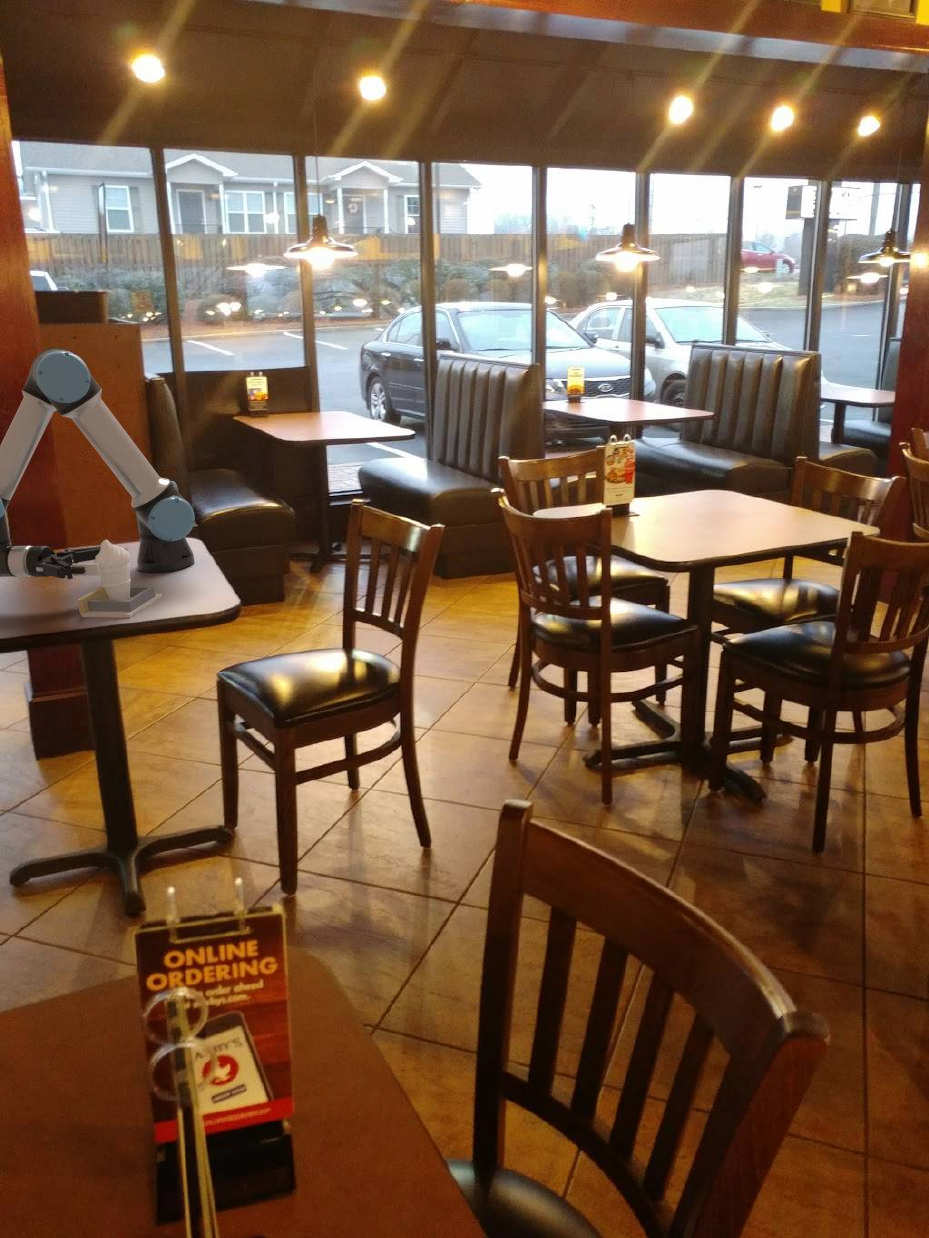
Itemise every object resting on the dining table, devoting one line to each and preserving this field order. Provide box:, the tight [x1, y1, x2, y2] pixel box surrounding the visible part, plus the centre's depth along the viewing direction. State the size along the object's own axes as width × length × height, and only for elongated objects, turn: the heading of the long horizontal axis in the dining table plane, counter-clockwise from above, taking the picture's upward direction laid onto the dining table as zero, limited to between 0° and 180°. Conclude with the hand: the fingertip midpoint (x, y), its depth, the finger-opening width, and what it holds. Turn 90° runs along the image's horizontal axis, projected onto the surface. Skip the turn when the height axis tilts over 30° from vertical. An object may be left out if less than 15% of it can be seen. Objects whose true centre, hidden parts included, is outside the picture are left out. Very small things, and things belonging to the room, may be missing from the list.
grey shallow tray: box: [77, 585, 163, 619], centre depth 246 cm, size 13×16×4 cm
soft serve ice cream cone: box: [93, 539, 132, 600], centre depth 244 cm, size 8×8×16 cm
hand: (113, 561), depth 243 cm, fingers open, 13 cm apart
